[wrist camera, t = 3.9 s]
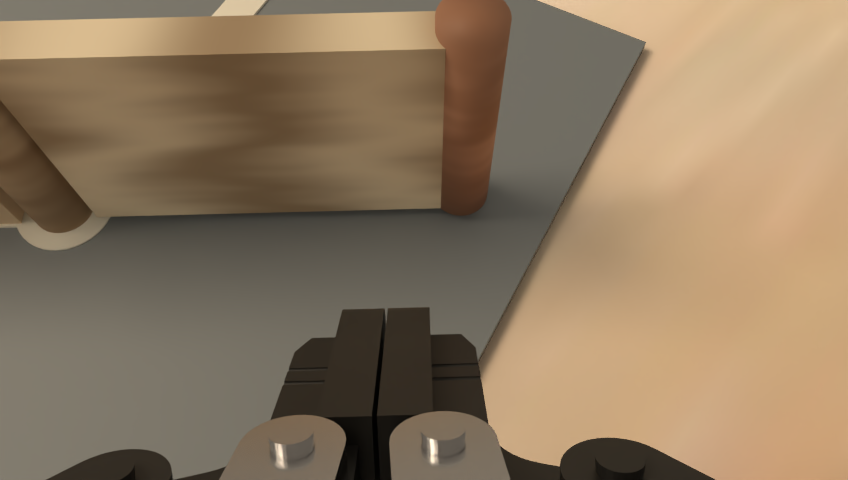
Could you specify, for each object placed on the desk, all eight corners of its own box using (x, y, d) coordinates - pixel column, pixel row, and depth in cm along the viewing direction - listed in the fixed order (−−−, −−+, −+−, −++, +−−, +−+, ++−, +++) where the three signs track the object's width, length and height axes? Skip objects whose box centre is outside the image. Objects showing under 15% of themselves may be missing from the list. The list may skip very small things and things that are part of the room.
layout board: (258, 780, 18) (253, 784, 17) (-434, 291, 24) (-451, 285, 23) (643, 49, 28) (646, 40, 28) (93, -163, 34) (88, -174, 34)
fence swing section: (95, 225, 24) (-46, 58, 17) (104, 177, 25) (-26, 0, 18) (489, 214, 24) (514, 45, 17) (485, 168, 25) (508, -13, 18)
